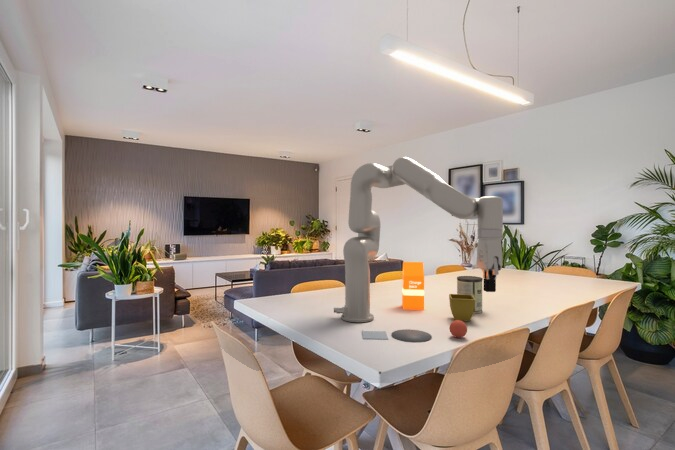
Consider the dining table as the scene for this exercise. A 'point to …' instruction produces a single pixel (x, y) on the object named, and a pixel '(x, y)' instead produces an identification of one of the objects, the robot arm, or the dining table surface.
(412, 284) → the orange juice
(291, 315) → the dining table surface
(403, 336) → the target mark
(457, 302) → the flower pot
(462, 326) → the ball
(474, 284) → the coffee can
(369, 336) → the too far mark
